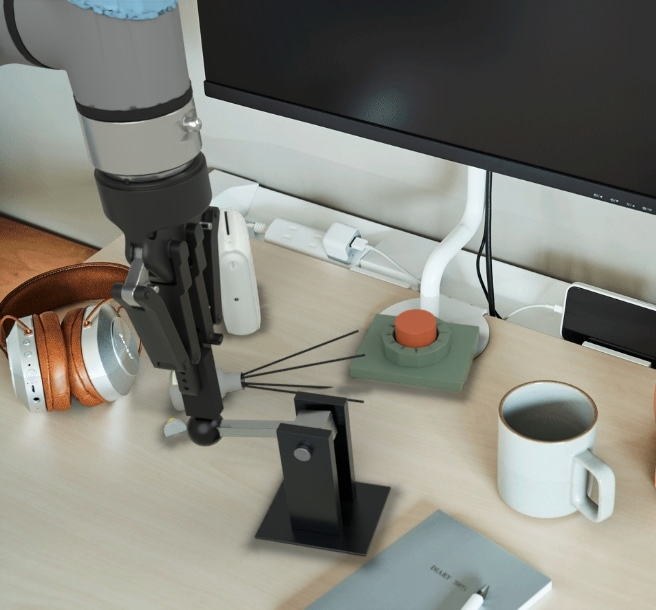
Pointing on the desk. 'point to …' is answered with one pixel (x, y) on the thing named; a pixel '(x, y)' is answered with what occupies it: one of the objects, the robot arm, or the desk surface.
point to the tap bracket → (322, 486)
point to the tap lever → (252, 427)
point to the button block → (417, 356)
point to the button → (415, 328)
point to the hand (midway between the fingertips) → (205, 411)
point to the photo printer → (237, 275)
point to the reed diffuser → (244, 384)
